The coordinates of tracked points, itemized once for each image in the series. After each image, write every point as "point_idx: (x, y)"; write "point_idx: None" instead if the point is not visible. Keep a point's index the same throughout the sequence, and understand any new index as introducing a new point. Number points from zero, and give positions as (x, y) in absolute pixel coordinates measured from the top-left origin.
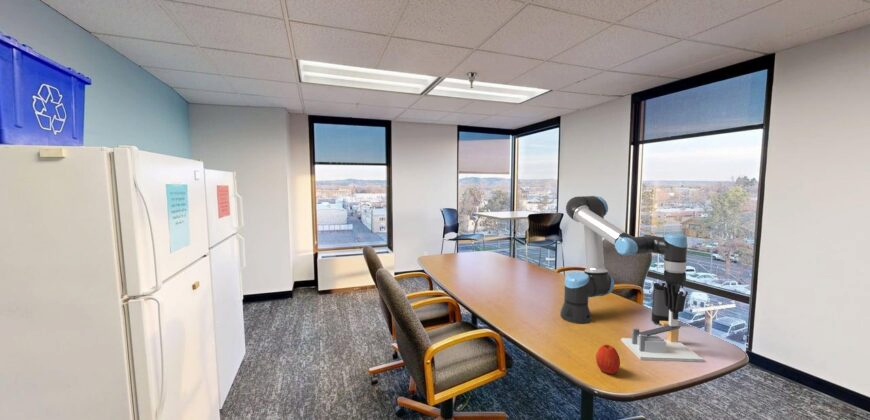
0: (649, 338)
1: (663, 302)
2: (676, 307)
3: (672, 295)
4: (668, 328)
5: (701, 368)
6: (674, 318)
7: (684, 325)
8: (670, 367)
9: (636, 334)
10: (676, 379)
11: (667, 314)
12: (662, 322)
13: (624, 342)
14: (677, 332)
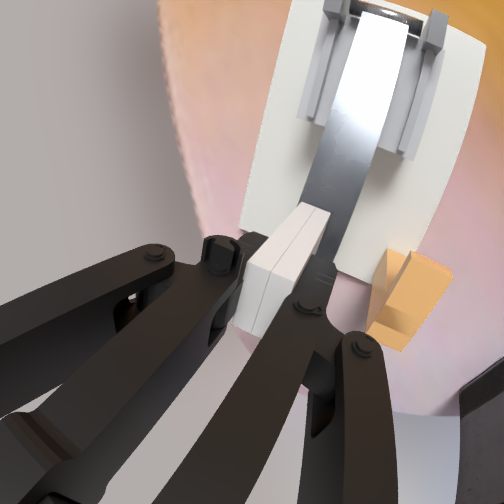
0: None
1: (500, 449)
2: (109, 269)
3: (56, 443)
4: (315, 184)
5: (210, 174)
6: (246, 233)
7: (440, 415)
8: (231, 62)
9: (424, 35)
10: (171, 33)
11: (481, 413)
12: (428, 269)
13: (452, 30)
14: (371, 298)
